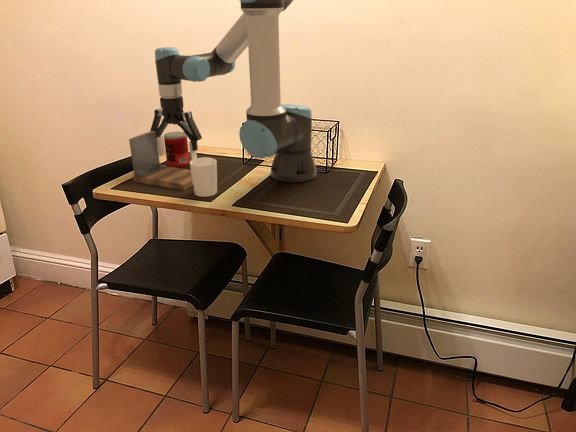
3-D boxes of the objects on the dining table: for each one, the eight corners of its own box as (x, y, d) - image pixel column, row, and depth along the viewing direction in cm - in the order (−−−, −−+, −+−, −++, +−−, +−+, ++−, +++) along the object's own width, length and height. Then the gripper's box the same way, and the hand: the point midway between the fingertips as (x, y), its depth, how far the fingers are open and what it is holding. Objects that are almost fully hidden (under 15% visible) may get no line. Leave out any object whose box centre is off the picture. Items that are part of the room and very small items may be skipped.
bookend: (167, 166, 167) (163, 132, 162) (145, 177, 158) (140, 140, 153) (156, 165, 169) (151, 130, 164) (134, 175, 160) (129, 139, 155)
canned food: (192, 161, 179) (189, 131, 174) (185, 168, 172) (182, 137, 167) (171, 160, 180) (168, 131, 175) (164, 168, 172) (160, 137, 168)
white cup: (198, 199, 146) (195, 167, 142) (188, 191, 152) (185, 160, 148) (223, 194, 150) (220, 162, 145) (212, 186, 156) (209, 155, 151)
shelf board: (206, 178, 162) (205, 172, 162) (184, 190, 153) (184, 184, 152) (157, 170, 170) (156, 164, 169) (133, 181, 160) (132, 175, 160)
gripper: (208, 96, 164) (213, 158, 173) (148, 91, 174) (156, 150, 182) (195, 101, 158) (201, 164, 167) (134, 95, 167) (142, 155, 176)
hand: (177, 157), depth 175 cm, fingers open, 13 cm apart
